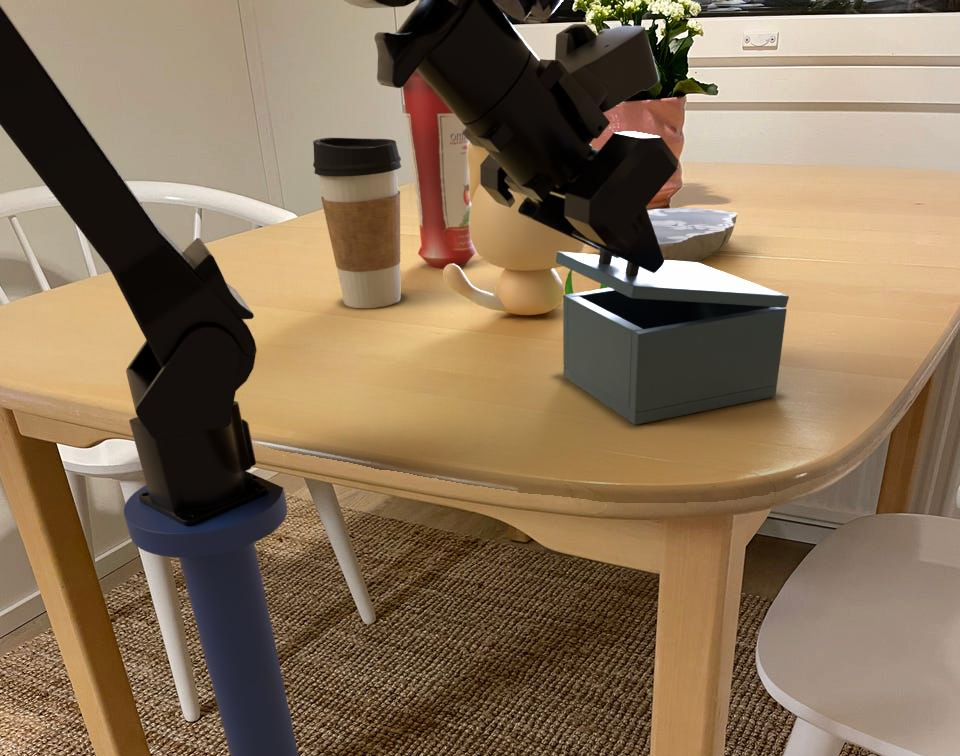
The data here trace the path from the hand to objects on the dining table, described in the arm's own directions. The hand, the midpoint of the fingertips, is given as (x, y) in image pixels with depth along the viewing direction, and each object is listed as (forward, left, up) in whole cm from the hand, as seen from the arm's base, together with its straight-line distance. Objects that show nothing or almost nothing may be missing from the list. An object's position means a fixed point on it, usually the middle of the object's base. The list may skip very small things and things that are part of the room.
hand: (640, 260), depth 67 cm
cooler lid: (+2, -1, -2) cm, 3 cm away
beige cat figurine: (+12, +21, -10) cm, 26 cm away
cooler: (+2, -1, -10) cm, 10 cm away
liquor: (+22, +43, -10) cm, 49 cm away
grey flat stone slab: (+39, +26, -10) cm, 48 cm away
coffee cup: (+6, +38, -10) cm, 40 cm away
